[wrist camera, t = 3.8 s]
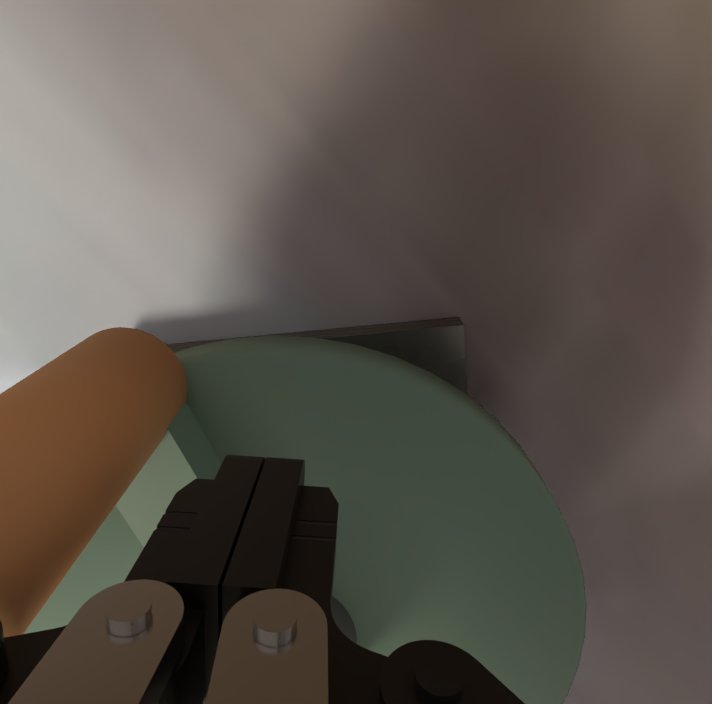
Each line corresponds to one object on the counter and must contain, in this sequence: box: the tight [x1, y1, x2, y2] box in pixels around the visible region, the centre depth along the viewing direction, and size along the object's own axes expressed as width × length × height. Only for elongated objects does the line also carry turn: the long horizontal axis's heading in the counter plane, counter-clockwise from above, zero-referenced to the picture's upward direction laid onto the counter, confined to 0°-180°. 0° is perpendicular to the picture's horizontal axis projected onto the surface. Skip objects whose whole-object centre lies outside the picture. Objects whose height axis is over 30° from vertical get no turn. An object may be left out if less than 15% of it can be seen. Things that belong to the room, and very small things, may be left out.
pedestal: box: [167, 317, 467, 395], centre depth 22 cm, size 14×14×7 cm
